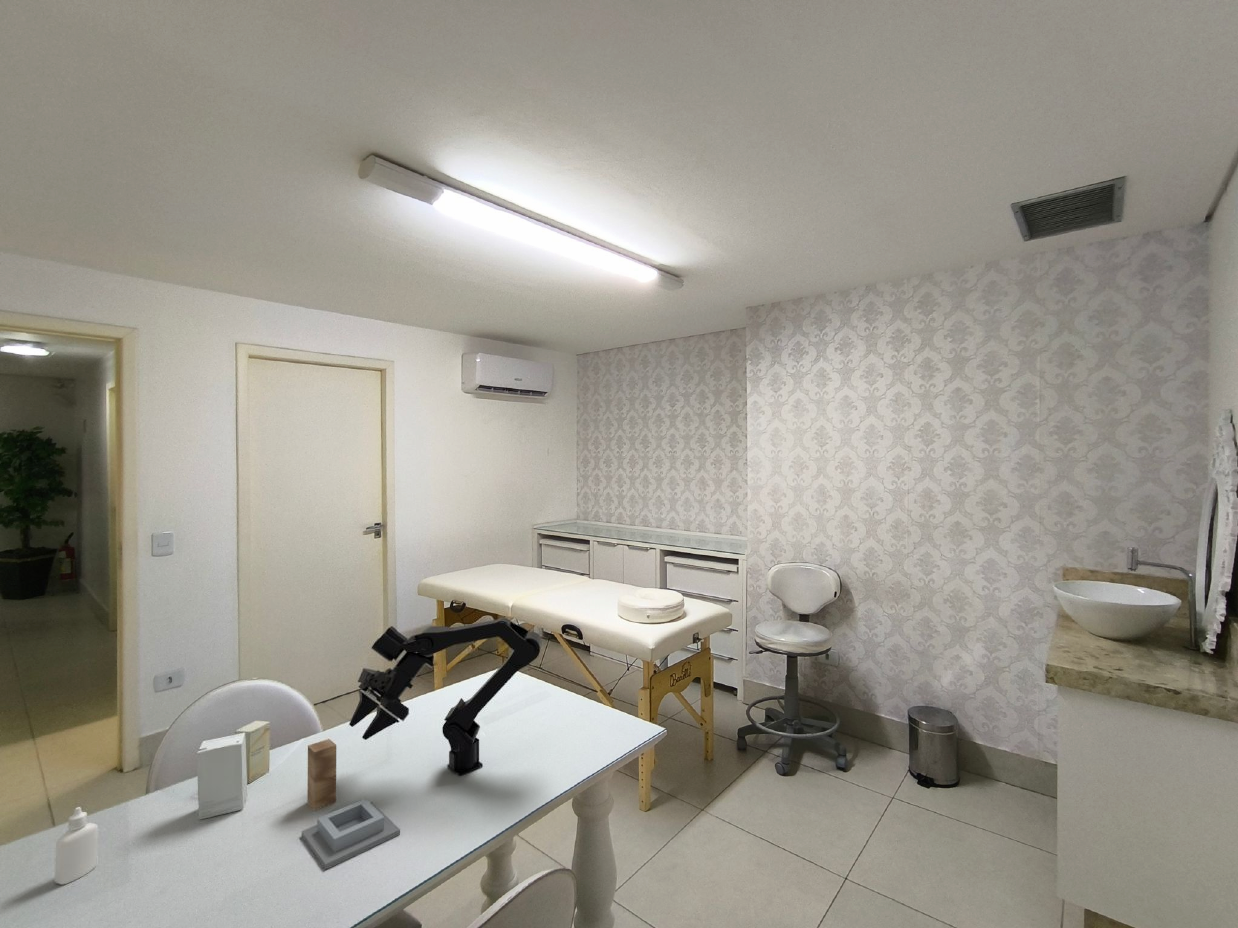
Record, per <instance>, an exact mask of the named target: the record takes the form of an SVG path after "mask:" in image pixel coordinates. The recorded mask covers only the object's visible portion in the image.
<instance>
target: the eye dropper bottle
mask: <svg viewBox="0 0 1238 928" xmlns="http://www.w3.org/2000/svg"><path fill="white" fill-rule="evenodd" d="M67 827H68V829H67V831H66V832H65V833H63V834H62V835H61V836H60V837H59V838H58V839H57V840H56V843H55V853H54V854H55V858H54V863H55V864H54V883H55V884H59V885H66V884H69V883H72V882H74V881H76V880H78V879H79V878H82V877H83V876H85V875H87V874H88V873H91V871H93V870H94V869H95V868H96V867H97V866H98V863H99V862H98V861H99V825H97V824H96V823H93V822H88V813H87V812H86V811H82V807H81V806H77V807H76V808H75V810H74V813H73V814H72V815H70V816H69V818H68V826H67Z"/></svg>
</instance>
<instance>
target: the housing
mask: <svg viewBox="0 0 1238 928" xmlns="http://www.w3.org/2000/svg"><path fill="white" fill-rule="evenodd" d="M316 821H317V822H316V823H317V824H315V825H313V826H311V827H308V828H305V829H303V830H301V831H300V832H301V838H302V839H303V840H304V841H305V843H306V845H307V846H308V847H309V849H310V850H311V851H312V853H313V854H314V855H315V857H316V859H318V862H319V863H320V864H321V865H322V867H323V868H324V870H328V869H330V868H332V867H334V866H336V865H338V864H341V863H343V862H345V861H348V860H349V859H350V858H351V859H352V858H353V857H355V856H357V855H359V854H362V853H363V852H366V851H368V850H370V849H372V848H374V847H377V846H378V845H381V844H383V843H385V842H387V841H389V840H391V839H393V838H395V837H397V836H400V835H401V829H400V828H399V827H398V826H397V825H396V824H395V823H394V822H393V821H392V820H391V819H390V818H389V817H388V816H387V815H386V814H385V813H384V812H383V811H382V810H381V809H380V808H379V807H378V806H377V805H376V804H375V803H373V802H372V801H368V800H367V798H364V799H362V800H359V801H356V802H353V803H351V804H349V805H347V806H344V807H342V808H338V809H337V810H334V811H332V812H329V813H327V814H324V815H322V816H319V817H318V818H317V820H316Z"/></svg>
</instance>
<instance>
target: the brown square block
mask: <svg viewBox="0 0 1238 928" xmlns="http://www.w3.org/2000/svg"><path fill="white" fill-rule="evenodd" d="M306 800H307V804H308V805H309V804H310V805H309V806H310V807H311V808H312V810H313V811H317V810H319V809H322V808H324V807H327V806H329V805H331V804H334V803H336V802H337V744H336V743H335V742H334V741H333V740H331V739H330V738H327V739H324V740H321V741H319V742H315V743H312V744H308V745H307V799H306ZM335 801H336V802H335ZM328 804H329V805H328Z"/></svg>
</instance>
